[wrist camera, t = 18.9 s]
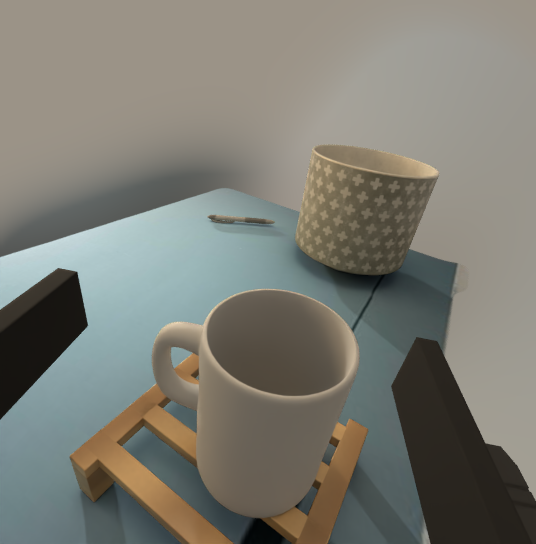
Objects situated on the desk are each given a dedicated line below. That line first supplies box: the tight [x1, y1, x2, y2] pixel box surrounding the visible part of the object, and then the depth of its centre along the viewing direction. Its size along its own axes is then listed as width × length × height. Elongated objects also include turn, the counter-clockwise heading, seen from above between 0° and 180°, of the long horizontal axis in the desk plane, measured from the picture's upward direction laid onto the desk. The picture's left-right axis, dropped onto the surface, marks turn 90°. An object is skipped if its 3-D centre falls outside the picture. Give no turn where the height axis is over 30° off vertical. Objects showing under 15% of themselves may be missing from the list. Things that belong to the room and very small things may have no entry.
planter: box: [295, 145, 439, 275], centre depth 54 cm, size 19×19×18 cm
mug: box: [152, 289, 360, 518], centre depth 20 cm, size 12×8×11 cm
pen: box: [207, 215, 275, 224], centre depth 66 cm, size 1×14×1 cm, turn 96°
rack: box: [70, 353, 368, 544], centre depth 24 cm, size 16×14×4 cm
